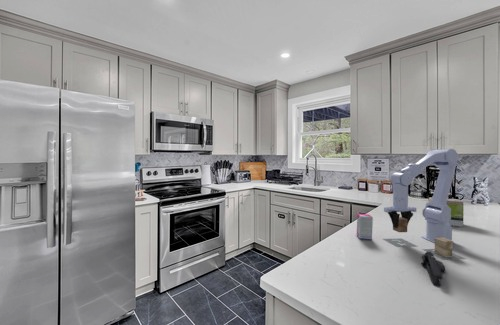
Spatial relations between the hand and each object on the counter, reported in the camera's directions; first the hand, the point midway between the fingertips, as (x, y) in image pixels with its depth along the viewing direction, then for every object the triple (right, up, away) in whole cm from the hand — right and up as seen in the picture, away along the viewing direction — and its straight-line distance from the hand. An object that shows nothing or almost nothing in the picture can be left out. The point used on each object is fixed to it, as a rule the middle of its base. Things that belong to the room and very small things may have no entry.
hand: (399, 227), depth 105 cm
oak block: (+10, -8, -12) cm, 17 cm away
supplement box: (-14, -7, +6) cm, 17 cm away
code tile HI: (+10, -8, -12) cm, 17 cm away
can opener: (-7, -9, -28) cm, 30 cm away
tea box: (+49, -7, +32) cm, 59 cm away
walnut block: (0, -2, 0) cm, 2 cm away
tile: (0, -7, 0) cm, 7 cm away
